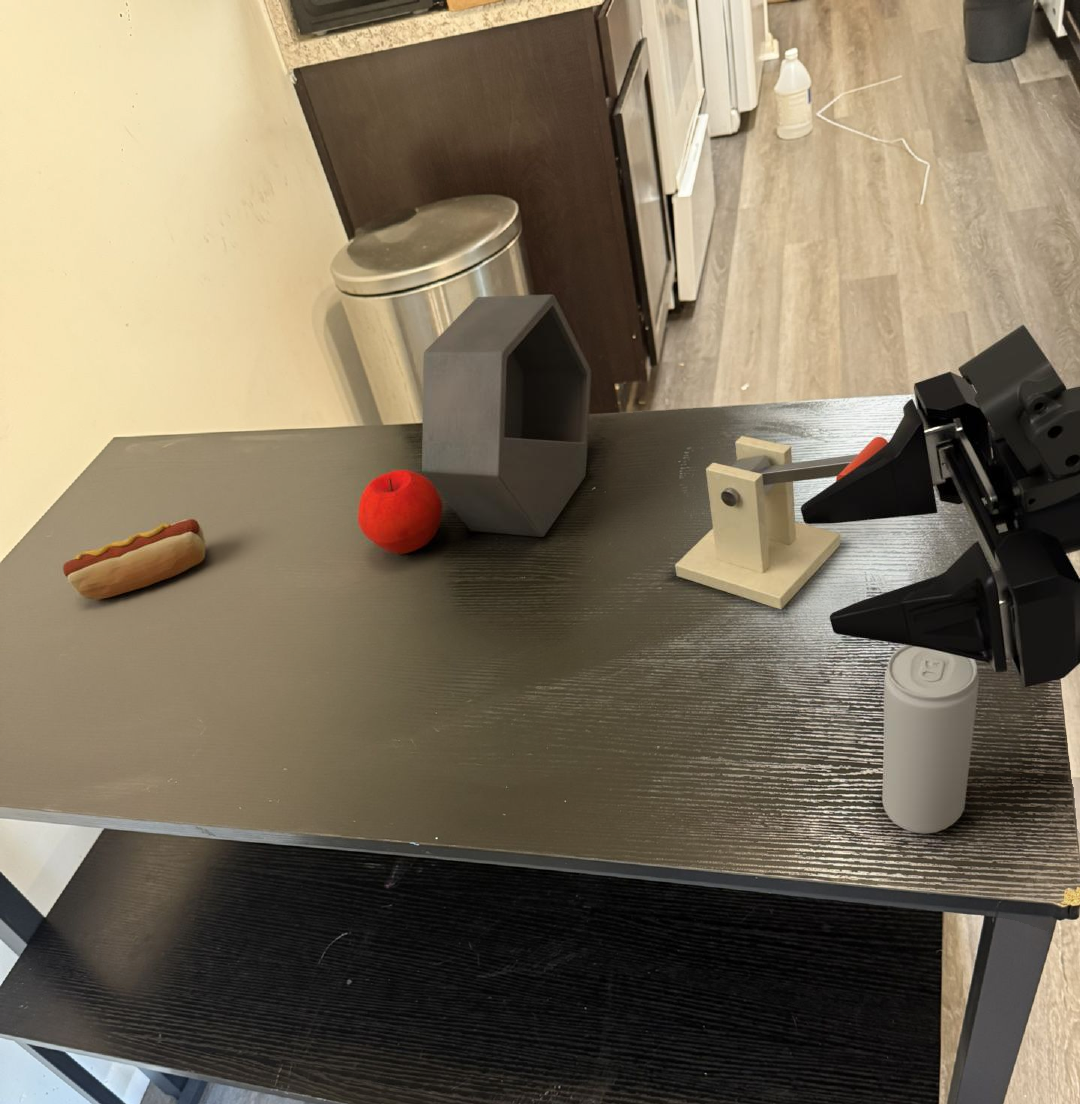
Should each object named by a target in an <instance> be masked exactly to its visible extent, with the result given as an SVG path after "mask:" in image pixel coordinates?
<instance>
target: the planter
mask: <svg viewBox="0 0 1080 1104" xmlns="http://www.w3.org/2000/svg"><path fill="white" fill-rule="evenodd" d="M422 368H423V369H422V371H423V373H422V374H423V375H422V437H421V438H422V439H421V440H422V446H421V448H422V450H421V456H422V457H421V472H422V474H424V476H425V478H427V479H428V480H429V481H430V482H431V483H432V484H433V485H434V487H435V489H436V491H437V492H438V494H440V495H441V496H442V498H443V500H445V501H446V503H447V504H448V505H449V506H450V508H451V509H452V510H453V511H454V512H455V514H456V515H457V516H458V517H459V519H460V520H461V521H462V522H463V524H465V526H466V527H467V528H468V529H469V531H471V532H477V533H478V532H479V533H491V534H502V535H514V536H525V537H535V538H544V537H545V536H546V535H547V533H548V532H549V530H550V528H552V526H553V524H554V523H555V521H556V520H557V518H558V517H559V515H560V514H561V512H562V511H563V510H564V508H565V507H566V506H567V504H568V503H569V501H570V499H571V498H572V497H573V495H574V494H575V492H576V491H577V489H578V488H579V486H581V484H582V482H583V481H584V480H585V478H586V475H587V461H588V460H587V459H588V458H587V457H588V443H589V442H588V439H589V421H590V406H591V405H590V404H591V388H592V387H591V385H592V370H591V368H590V365H589V363H588V361H587V359H586V357H585V355H584V353H583V351H582V349H581V346H580V345H579V343H578V341H577V339H576V336H575V335H574V333H573V330H572V329H571V327H570V324H569V323H568V320H567V318H566V317H565V314H564V312H563V310H562V308H561V306H560V304H559V302H558V300H557V298H556V296H555V295H554V294H528V295H527V294H525V295H497V296H494V295H493V296H477V297H476V298H475V299H474V300H473V301H472V302H471V303H470V304H469V305H468V306H467V307H466V308H465V309H464V310H463V311H462V312H461V313H460V314H459V315H458V316H457V318H455V320H454V321H452V322H451V323H450V325H448V327H446V329H445V330H444V331H443V332H442V333H441V334H440V335H439V336H438V337H437V338H436V339H435V340H434V341H433V342H432V343H431V344H430V345H429V346H428V347H427V348H426V349H425V350H424V351H423V366H422Z"/></svg>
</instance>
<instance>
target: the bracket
mask: <svg viewBox="0 0 1080 1104" xmlns="http://www.w3.org/2000/svg"><path fill="white" fill-rule="evenodd" d="M734 444H735V454H736V461H737V460H738V459H742V458H749V457H756V456H762V455H767V457H768V460H769V462H770V465H771V466H775V465H782V464H790V463H793V456H792V455H793V454H792V446H791V445H788V444H782V443H777V442H772V441H768V440H764V439H759V438H755V437H749V436H745V435H741V436H739V438H738V439H737V440H736V441H735V442H734ZM705 473H706V481H707V482H706V483H707V490H708V497H709V499H708V500H709V505H710V506H709V507H710V514H711V523H712V528H711V529H710V530H709V531H708V532H707V533H706V534H705V535H704V536H703V537H702V538H701V539H700V540H699V541H698V542H697V543H696V544H695V545H693V547H692V548H691V549H690V550H689V551H688V552H687V553H685V554H684V555H683V556H682V557H681V558H680V559H679V561H677V562H676V563H675V564H674V568H675V574H676V577H678V578H682V579H685V580H688V581H692V582H694V583H698V584H701V585H704V586H707V587H710V588H713V589H715V590H719V591H721V592H725V593H728V594H732V595H733V596H734V595H735V596H738V597H740V598H744V599H747V600H750V601H754V602H757V603H759V604H763V605H766V606H769V607H772V608H775V609H778V610H782V609H783V608H784V607H785V606H786V605H787V604H788V603H789V602H790V601H791V600H792V599H793V597H794V596H795V595H796V594H797V593H798V592H799V591H800V590H801V589H802V587H804V586H805V584H807V582H808V581H809V580H811V578H812V576H814V575H815V574H816V572H817V571H818V570H819V569H820V568H821V567H822V566H823V565H824V564H825V562H826V561H827V560H828V559H830V557H831V556H832V555H833V554H834V553H835V552H836V551H837V549H838V548H839V547H840V546H841V533H840V532H836V531H832V530H827V529H823V528H820V527H817V526H813V525H810V524H806V523H801V522H798V521H796V512H795V494H794V482H786V483H778V484H775V485H774V486H773V487H772V488H771V489H770V490H769V491H768V492H767V493H766V494H765V495H764V489H763V476H762V474H760V473H755V472H751V471H747V470H743V469H738V468H734V467H731V466H729V465H726V464H720V463H717V462H712V463H711V464H709V465H708V466H707V467H706V468H705Z"/></svg>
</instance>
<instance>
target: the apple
mask: <svg viewBox="0 0 1080 1104" xmlns="http://www.w3.org/2000/svg"><path fill="white" fill-rule="evenodd" d="M442 517H443V500H442V498H441V496H440V495H439V492H438V490H437V489H436V488H435V487H434V485H433V484H432V483H431V482H430V480H429V479H428V478H427V477H426V476H425V475H422V474H420V473H417V472H414V471H412V470H409V469H396V470H392V471H390V472H387V473H383V474H380V475H378V476H376V477H375V478H374V479H372V480H370V482H369V483H368V484H367V485H366V487H365V488H364V490H363V492H362V494H361V497H360V499H359V502H358V513H357V522H358V526H359V528H360V530H361V532H362V534H364V535H365V537H366V538H367V539H368V540H370V541H371V542H373V543H374V544H375V545H376V546H378V547H379V548H381V549H384V550H385V551H387V552H389V553H393V554H397V555H404V554H409V553H412V552H415V551H417V550H419V549H421V548H423V547H425V546H427V545H428V544H429V543H430V542H431V541H432V540H433V538H434V537H435V535H436V534H437V531H438V529H439V528H440V524H441V521H442Z"/></svg>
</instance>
